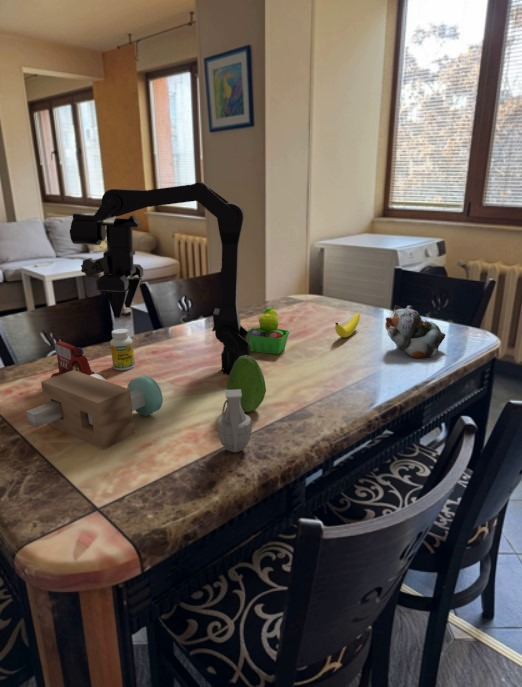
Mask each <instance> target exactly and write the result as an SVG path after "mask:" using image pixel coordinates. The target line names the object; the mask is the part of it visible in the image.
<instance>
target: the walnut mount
mask: <svg viewBox="0 0 522 687" xmlns="http://www.w3.org/2000/svg"><path fill="white" fill-rule="evenodd" d="M40 382H41V388H42V390H41V391H42V395H43V401H44V402H43V403H44V404H42V405H39V406H37V407H34V408H31V409H29V410H26V411H25V414H26V421H27V424H28V425H29V426H31V427H33V428H35V429H38V428H40V427H43V426H45V425H49V426H52V427H54V428H56V429H58V430H60V431H62V432H64V433H65V434H66V433H67V434H69V435H71V436H73V437H76V438H78V439H80V440H82V441H84V442H86V443H88V444H90V445H93V446H95V447H97V448H99V449H101V450H103V451H104V450H106V449H108V448H110V447H112V446H113V445H116V444H118V443H120V442H122V441H124V440H125V439H127V438H129V437H131V436H133V435H135V433H136V432H135V423H134V415H133V412H134V411H132V402H131V393H130V389H128V388H127V387H125V386H122V385H119V384H116V383H112V382H109V381H107V380H106V379H105V378H104V377H103V376H102V375H100V374H99V373H96V374H92V375H87V374H84V373H81V372H78V371H75V370H72V371H69V372H66V373H64V374H61V375H58V376H55V377H52V378H51V377H50V378H47V379H44V380H41V381H40ZM88 414H90V415H92V423H93V425H91V424H89V418H88Z"/></svg>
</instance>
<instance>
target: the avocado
mask: <svg viewBox="0 0 522 687" xmlns="http://www.w3.org/2000/svg"><path fill="white" fill-rule="evenodd" d="M262 371H263V370H262V369H261V367H260V365H259V363H258V361H257V360H256V358H254V357H252V356H251V357H250V356H248V355H243V356H240V357H239V358H238V359H237V360H236V361H235V363H234V365H233V367H232V370H231V372H230V374H228V379H227V382H226V386H225V390H236V389H241V394H242V397H241V399H240V405H241V407H242V409H243V411H244V413H250V412H253V411H255V410H257V409H258V408H259V407H260V405H261V404H262V403H263V401H264V399H265V396H266V392H267V388H266V387H267V386H266V380H265V376H264V373H263V372H262Z"/></svg>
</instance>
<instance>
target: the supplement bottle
mask: <svg viewBox="0 0 522 687" xmlns="http://www.w3.org/2000/svg"><path fill="white" fill-rule="evenodd" d="M129 335H130V333H129V329H127V328H117V329H114V330H112V331H111V337H112V339H111V340H110V342H109V343H110V352H111V360H112V368H113V369H114V370H116V371H129V370H131V369H133V368H134V367H135V365H136V363H135V362H136V361H135V355H134V344H133V340H132V338H131V337H130V336H129Z"/></svg>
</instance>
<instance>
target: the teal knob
mask: <svg viewBox="0 0 522 687" xmlns="http://www.w3.org/2000/svg"><path fill="white" fill-rule="evenodd" d="M126 388H128V389H130V393H131V402H132V412H134V411H135V412H136V413H138V414H139V415H141V416H145V417H146V416H150V415H151V414H153V413H155V412H157V411H159V410H160V409H161V408H162V405H163V400H164V399H163V393H162V390H161V387H160V386H159V384H158V382H157V381H156V380H155V379H154V378H153V377H151V376H149V375H145V374H144V375H141V376H139V377H136V378H134V379H132V380H130V381H129V382H128V383H127V387H126ZM88 418H89V424H91V425H93V423H92V415H90V414H88Z"/></svg>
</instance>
